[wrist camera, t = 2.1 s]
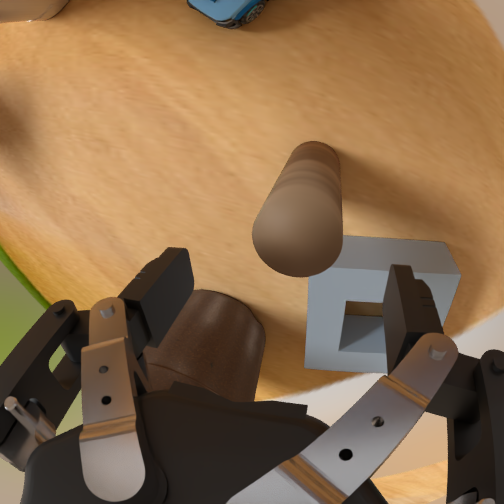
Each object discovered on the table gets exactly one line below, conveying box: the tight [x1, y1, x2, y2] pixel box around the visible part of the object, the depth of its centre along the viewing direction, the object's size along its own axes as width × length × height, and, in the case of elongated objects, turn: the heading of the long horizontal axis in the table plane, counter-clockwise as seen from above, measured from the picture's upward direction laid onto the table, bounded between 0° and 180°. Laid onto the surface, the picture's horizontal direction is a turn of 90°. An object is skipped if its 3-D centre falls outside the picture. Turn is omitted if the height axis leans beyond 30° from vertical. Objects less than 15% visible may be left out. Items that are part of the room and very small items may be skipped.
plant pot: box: [143, 290, 265, 402], centre depth 29 cm, size 16×16×16 cm
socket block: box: [304, 235, 461, 373], centre depth 26 cm, size 12×12×5 cm
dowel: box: [252, 141, 343, 277], centre depth 18 cm, size 4×4×12 cm
